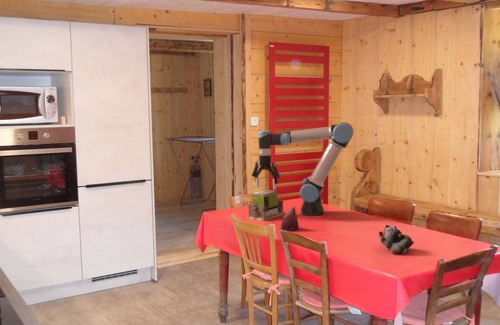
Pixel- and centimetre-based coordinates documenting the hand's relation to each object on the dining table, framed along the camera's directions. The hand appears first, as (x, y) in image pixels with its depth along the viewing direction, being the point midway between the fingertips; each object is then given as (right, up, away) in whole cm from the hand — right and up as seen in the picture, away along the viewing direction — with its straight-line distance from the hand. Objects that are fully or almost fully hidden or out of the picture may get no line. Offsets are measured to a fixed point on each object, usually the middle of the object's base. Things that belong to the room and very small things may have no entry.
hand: (266, 188), depth 348 cm
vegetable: (+13, -22, -32) cm, 41 cm away
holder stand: (0, -18, +2) cm, 19 cm away
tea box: (0, -17, +2) cm, 17 cm away
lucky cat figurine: (+61, -27, -82) cm, 105 cm away
